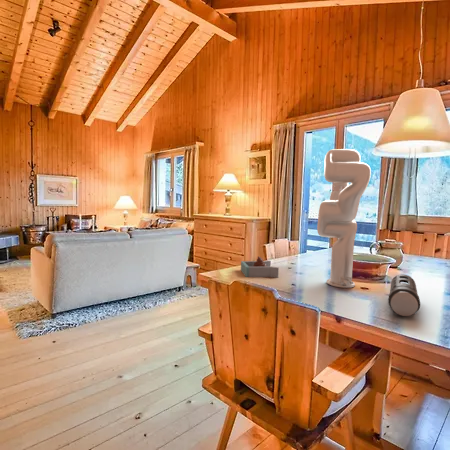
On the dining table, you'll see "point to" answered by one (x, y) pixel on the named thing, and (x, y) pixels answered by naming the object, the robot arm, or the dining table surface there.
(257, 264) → the poop emoji
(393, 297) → the muzzle brake
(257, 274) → the grey tray
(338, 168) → the robot arm
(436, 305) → the dining table surface
